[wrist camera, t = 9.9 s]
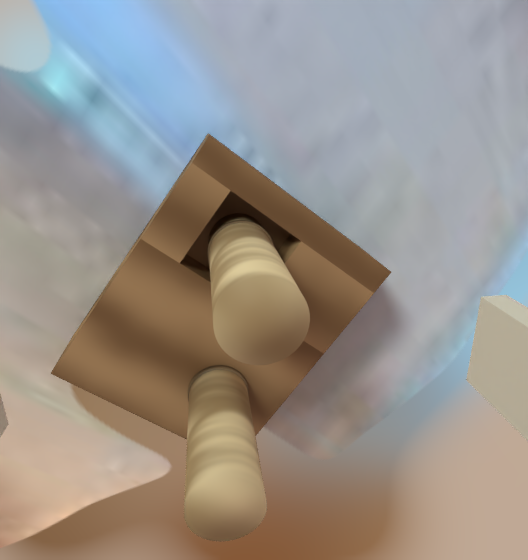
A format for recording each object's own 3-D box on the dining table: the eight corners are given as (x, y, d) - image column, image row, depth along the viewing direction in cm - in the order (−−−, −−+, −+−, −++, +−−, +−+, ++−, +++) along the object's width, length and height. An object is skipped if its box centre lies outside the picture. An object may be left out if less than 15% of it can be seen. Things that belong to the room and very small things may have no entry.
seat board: (208, 133, 33) (214, 144, 17) (362, 249, 37) (481, 343, 22) (73, 334, 37) (-24, 498, 21) (229, 416, 41) (246, 598, 26)
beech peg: (230, 199, 31) (251, 254, 18) (280, 234, 33) (332, 309, 20) (194, 249, 32) (190, 336, 19) (244, 282, 34) (271, 383, 21)
